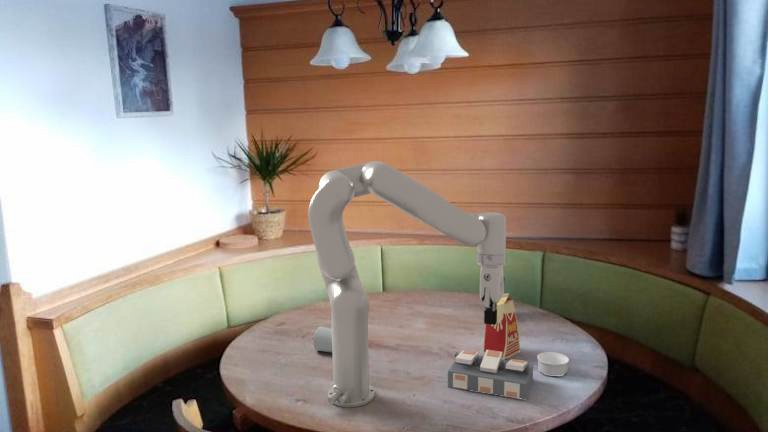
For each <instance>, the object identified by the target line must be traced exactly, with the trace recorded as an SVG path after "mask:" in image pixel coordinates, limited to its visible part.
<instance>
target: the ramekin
mask: <svg viewBox="0 0 768 432" xmlns="http://www.w3.org/2000/svg"><path fill="white" fill-rule="evenodd" d="M536 357H537V364H538V365H537V366H538V367H537V369H538V371H539V372H540V371H541V372H542V373H545V374H549V375H562V374H565V373H566V372H567V373H568V366H569V363H570V358H569V357H568V356H567V355H565V354H563V353H560V352H555V351H545V352H540V353H539V354H537V356H536ZM542 373H541V374H542ZM567 373H566V374H567Z"/></svg>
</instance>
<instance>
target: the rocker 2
mask: <svg viewBox="0 0 768 432" xmlns="http://www.w3.org/2000/svg"><path fill="white" fill-rule="evenodd" d="M509 360H510V361H509V362H508V363H506V369H513V370H519V371H523V370H524V369H525V368H526V365H527V363H528V361H527V360H523V359H515V358H512V359H509Z"/></svg>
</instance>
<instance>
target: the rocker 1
mask: <svg viewBox="0 0 768 432" xmlns="http://www.w3.org/2000/svg"><path fill="white" fill-rule="evenodd" d="M476 356H479V352H476V351H472V350H464V349H463V350H461V352H459V353H458V355H457V356H456V357H455V356H454V362H458V363H464V364H470V365H471V364H472V363H473V362H474V360H475V357H476Z"/></svg>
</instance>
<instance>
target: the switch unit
mask: <svg viewBox="0 0 768 432" xmlns="http://www.w3.org/2000/svg"><path fill="white" fill-rule="evenodd" d="M457 355H459V352H455V354H454V358H455V357H456V356H457ZM483 357H484V355H478V356H476V357H475V360H474V362H473V363H472V364H471V365H470V364H464V363H458V362H455V361H454V362H453V363H452V365H451V366H450V368H449V369H448V370H447V387H448V388H451V387H452V388H451V389H456V388H457V389H458V390H462V389H464V390H463V391H467V390H473V391H479V392H485V393H490V394H497V395H503V396H507V397H514V398H522V399H525V398H526V399H527V397H528V394H529V392H528V390H529V391H530V389H529V388H531V386H532V383H533V381H532V379H533V380H534V363H527V365H526V368H525V369H524V370H523V371H519V370H513V369H506V363H508V362H509V361H510V360H511V359H506V360H503V359H501V361H500V364H499V367H498V370H497V373H492V372H486V371H480V365H481V363H482V360H483ZM531 382H532V383H531ZM530 385H531V386H530ZM473 391H472V392H473ZM479 392H478V393H479ZM527 393H528V394H527ZM490 394H489V395H490ZM526 396H527V397H526ZM507 397H506V398H507Z"/></svg>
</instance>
